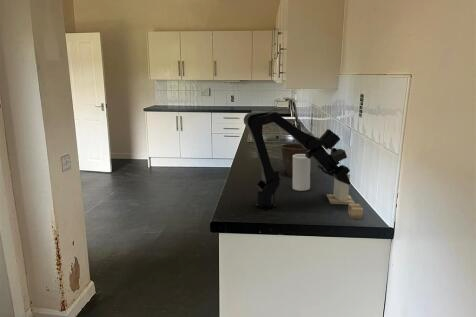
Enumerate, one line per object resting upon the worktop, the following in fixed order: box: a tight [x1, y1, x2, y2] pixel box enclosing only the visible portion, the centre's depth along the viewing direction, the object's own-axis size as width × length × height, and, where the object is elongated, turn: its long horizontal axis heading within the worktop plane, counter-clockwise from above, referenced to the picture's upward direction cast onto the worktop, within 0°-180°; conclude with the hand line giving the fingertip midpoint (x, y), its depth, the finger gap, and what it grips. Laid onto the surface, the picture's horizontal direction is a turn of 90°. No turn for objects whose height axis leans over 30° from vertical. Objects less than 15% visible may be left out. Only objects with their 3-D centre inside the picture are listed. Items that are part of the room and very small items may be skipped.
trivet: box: [326, 193, 356, 205], centre depth 154 cm, size 10×10×1 cm
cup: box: [292, 154, 311, 192], centre depth 169 cm, size 8×8×16 cm
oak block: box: [347, 203, 364, 220], centre depth 137 cm, size 6×4×4 cm, turn 176°
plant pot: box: [280, 143, 309, 177], centre depth 192 cm, size 15×15×16 cm
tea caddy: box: [332, 173, 351, 200], centre depth 153 cm, size 4×6×11 cm
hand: (344, 181), depth 153 cm, fingers open, 8 cm apart
